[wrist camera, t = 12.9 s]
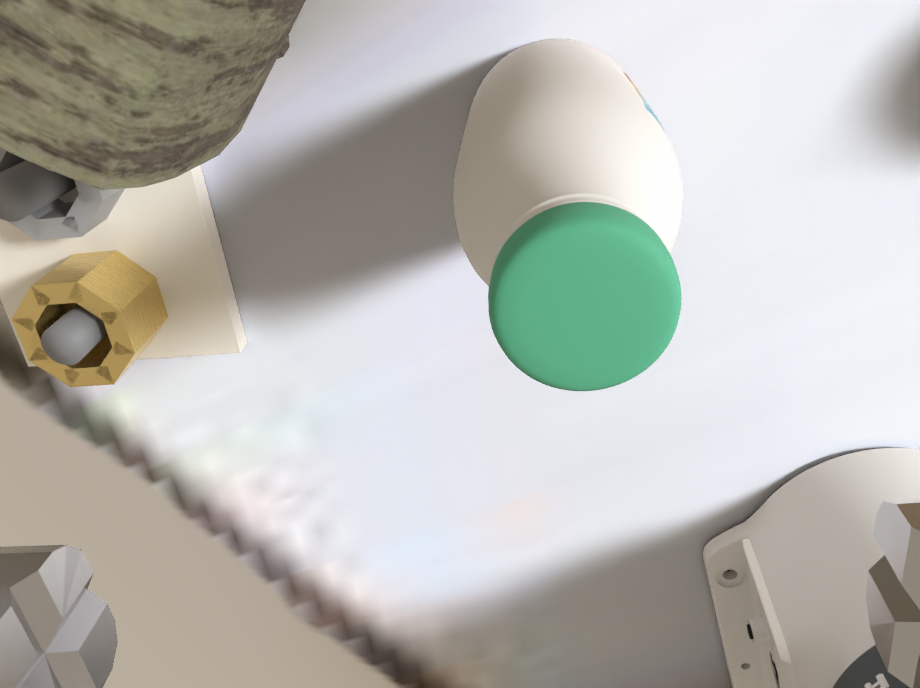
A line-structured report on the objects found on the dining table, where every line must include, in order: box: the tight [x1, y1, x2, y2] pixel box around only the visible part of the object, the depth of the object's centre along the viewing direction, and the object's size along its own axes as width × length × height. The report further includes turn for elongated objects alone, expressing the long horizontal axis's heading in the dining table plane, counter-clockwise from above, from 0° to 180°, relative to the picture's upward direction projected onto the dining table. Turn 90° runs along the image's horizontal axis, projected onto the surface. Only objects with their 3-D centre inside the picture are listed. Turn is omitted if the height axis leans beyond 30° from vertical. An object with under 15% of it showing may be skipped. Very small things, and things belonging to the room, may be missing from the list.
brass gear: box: [12, 250, 168, 387], centre depth 39 cm, size 5×5×4 cm
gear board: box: [0, 148, 247, 367], centre depth 37 cm, size 14×12×6 cm
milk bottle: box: [453, 39, 683, 391], centre depth 27 cm, size 8×8×20 cm
